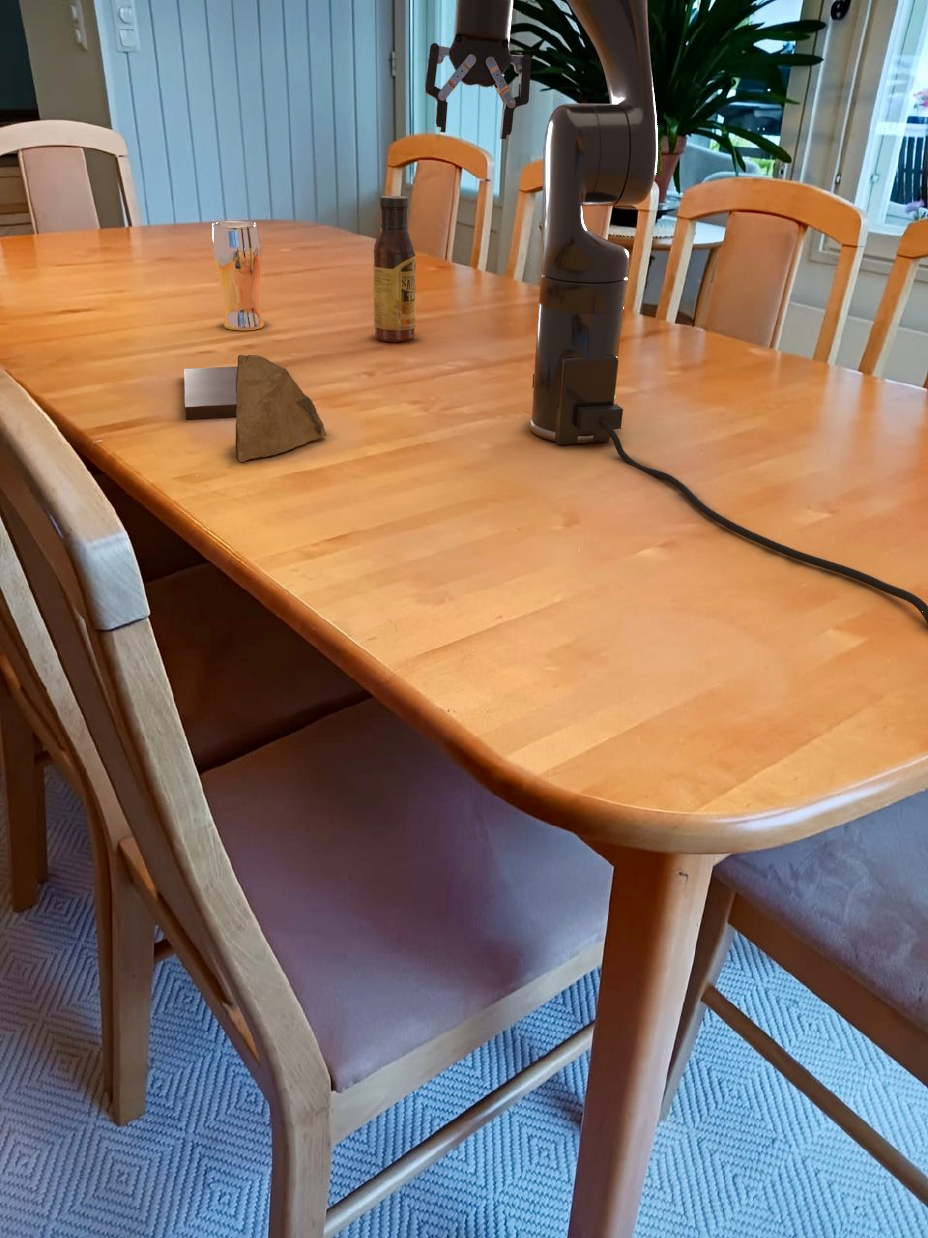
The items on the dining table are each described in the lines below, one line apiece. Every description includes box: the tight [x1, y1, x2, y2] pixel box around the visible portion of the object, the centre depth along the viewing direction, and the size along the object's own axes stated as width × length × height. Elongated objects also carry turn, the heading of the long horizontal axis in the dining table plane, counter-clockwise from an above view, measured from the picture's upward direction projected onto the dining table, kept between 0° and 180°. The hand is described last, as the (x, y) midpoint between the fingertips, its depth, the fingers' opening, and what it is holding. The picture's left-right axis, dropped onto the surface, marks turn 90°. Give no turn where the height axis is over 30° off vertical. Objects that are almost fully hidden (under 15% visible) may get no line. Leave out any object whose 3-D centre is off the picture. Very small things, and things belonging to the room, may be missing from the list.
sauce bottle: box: [372, 195, 417, 343], centre depth 138 cm, size 6×6×20 cm
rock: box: [234, 354, 327, 463], centre depth 100 cm, size 11×9×10 cm
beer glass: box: [211, 220, 265, 332], centre depth 144 cm, size 7×7×15 cm
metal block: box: [183, 366, 237, 420], centre depth 117 cm, size 16×12×2 cm
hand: (472, 135), depth 131 cm, fingers open, 8 cm apart
